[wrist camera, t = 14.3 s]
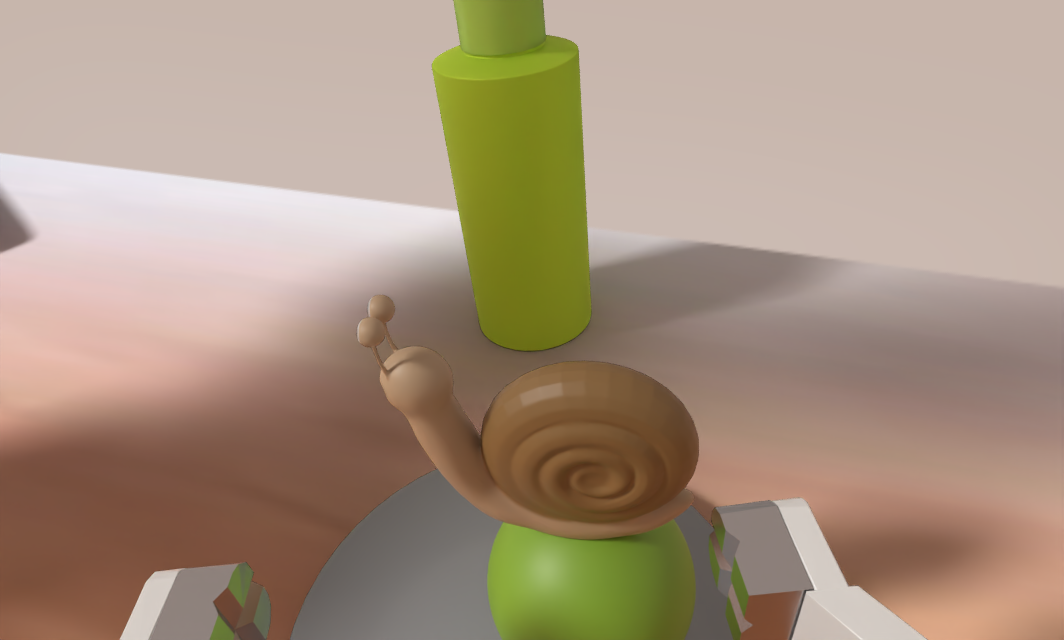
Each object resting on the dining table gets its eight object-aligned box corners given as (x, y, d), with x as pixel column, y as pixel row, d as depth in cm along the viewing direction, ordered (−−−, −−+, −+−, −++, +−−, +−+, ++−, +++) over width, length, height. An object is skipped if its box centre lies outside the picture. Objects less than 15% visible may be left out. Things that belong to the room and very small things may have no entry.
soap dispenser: (625, 296, 34) (622, -180, 22) (540, 367, 30) (477, -161, 18) (542, 263, 37) (499, -165, 25) (456, 323, 34) (355, -147, 21)
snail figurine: (484, 539, 21) (395, 229, 14) (682, 543, 20) (703, 214, 13) (454, 722, 17) (301, 423, 10) (701, 738, 16) (747, 421, 9)
